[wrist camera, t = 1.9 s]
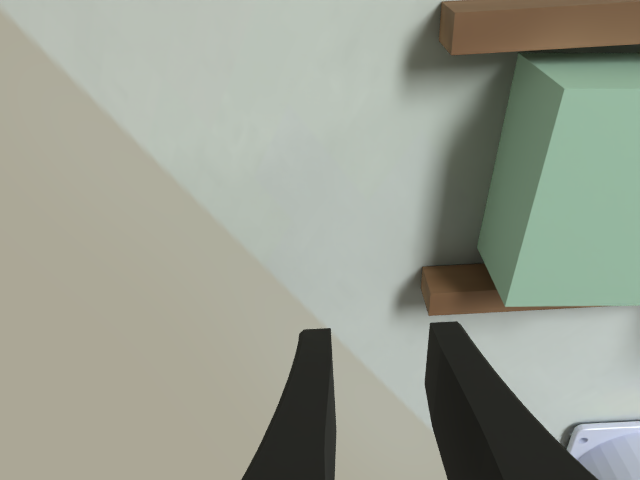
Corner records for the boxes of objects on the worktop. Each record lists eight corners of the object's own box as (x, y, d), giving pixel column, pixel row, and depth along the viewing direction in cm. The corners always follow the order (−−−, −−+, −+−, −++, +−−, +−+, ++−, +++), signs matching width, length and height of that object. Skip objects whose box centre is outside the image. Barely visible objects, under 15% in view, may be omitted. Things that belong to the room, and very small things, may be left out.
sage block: (591, 243, 22) (640, 305, 19) (475, 244, 22) (505, 306, 19) (661, 51, 18) (741, 88, 14) (516, 51, 18) (564, 88, 14)
